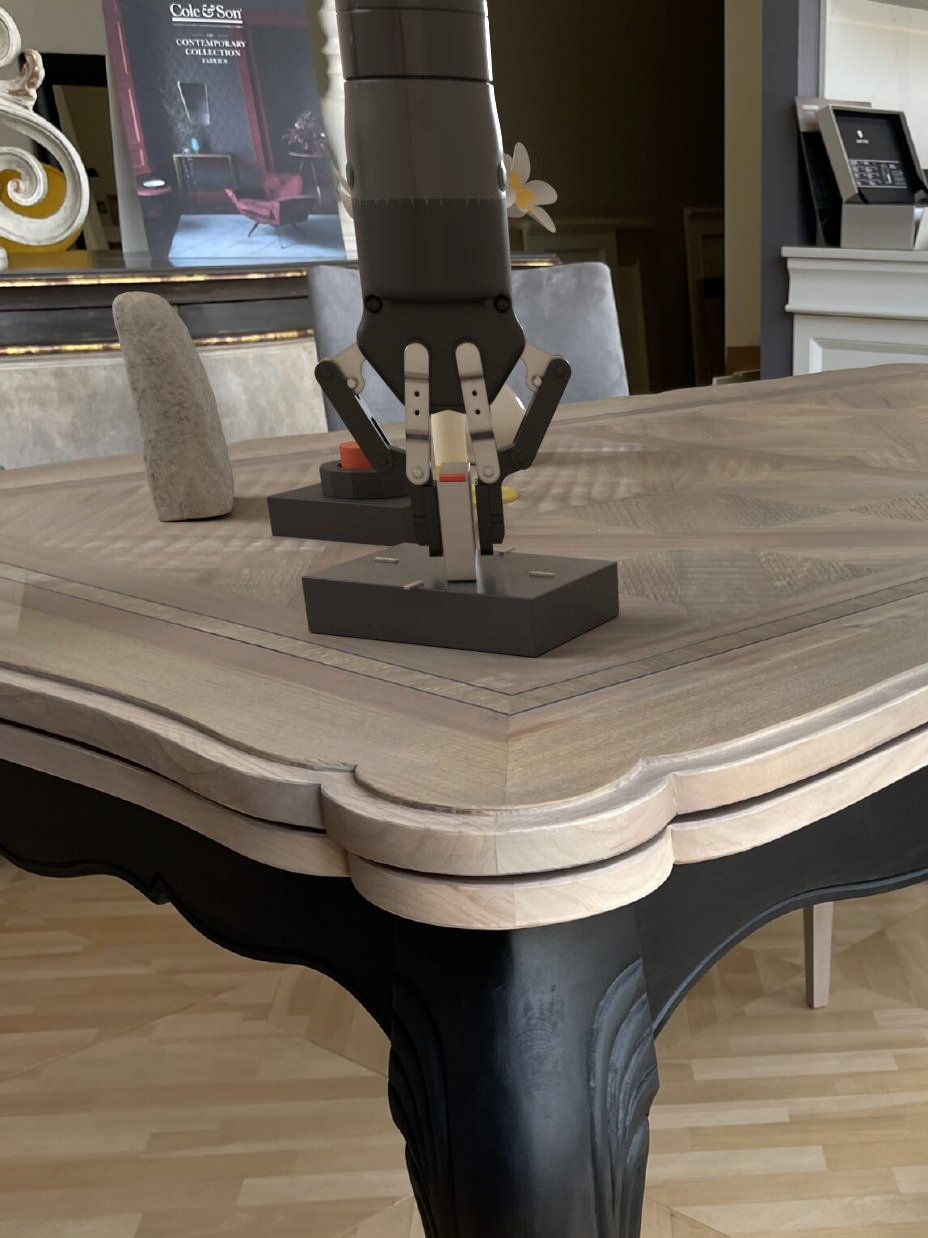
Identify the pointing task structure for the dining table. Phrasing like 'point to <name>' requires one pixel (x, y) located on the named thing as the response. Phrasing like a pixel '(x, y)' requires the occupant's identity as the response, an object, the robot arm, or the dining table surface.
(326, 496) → the button box
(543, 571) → the dark grey slotted base
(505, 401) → the flower vase
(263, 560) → the dining table surface
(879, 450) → the dining table surface
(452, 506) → the grey box
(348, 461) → the button
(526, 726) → the dining table surface
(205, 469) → the decorative stone
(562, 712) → the dining table surface
